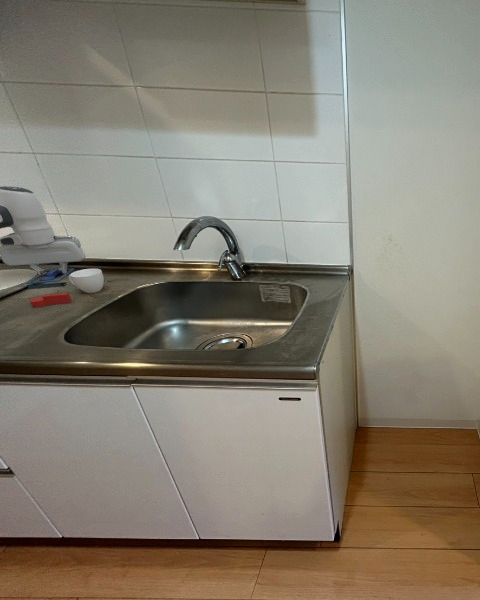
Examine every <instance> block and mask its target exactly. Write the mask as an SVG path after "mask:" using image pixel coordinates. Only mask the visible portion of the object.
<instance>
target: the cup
mask: <svg viewBox="0 0 480 600" xmlns="http://www.w3.org/2000/svg"><path fill="white" fill-rule="evenodd" d="M68 280H69V281H70V284H72V285H73V286H75V287H77V288H78V289H79V290H80V291H82V292H84V293H86V294H93V293H98V292H100V291H102V289H103V287H104V283H105V277H104V273H103V271H102V269H100V268H86V269H84V268H83V269H80V270H75V271H72V272H71V273H70V274H69V275H68Z"/></svg>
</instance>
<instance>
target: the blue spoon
mask: <svg viewBox="0 0 480 600" xmlns="http://www.w3.org/2000/svg"><path fill="white" fill-rule="evenodd" d="M59 269H60V268H57V267H56V268H52V269H50V270H51V271H50V272H47V275H46V276H44V277H41V278H40V281H48V280H57V279H56V277H57V276H58V275H59V274H60V272H59V271H58V270H59Z"/></svg>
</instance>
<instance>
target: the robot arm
mask: <svg viewBox="0 0 480 600" xmlns="http://www.w3.org/2000/svg"><path fill="white" fill-rule="evenodd" d="M6 228H11V229H12V231H13V232H12V233H11V232H10V233H8V234H5V235H3V236H1V237H0V258H1V261H2V263H4V264H5V265H7V266H24V265H25V266H27V265H29V268H31V269H32V270H34V271H36V272H37V275H38V274H39V275H40V277H42V276H47V273H48V272H46V270H47V269H45V268H43V269H42V267H40V266H39V265H41V264H42V265H43V264H59V266H61V267H60V268H59V270H58V271H59V272H60V273H59V274H60V275H64V274H66V273H67V272H68V271H67V270H66V269H67V267H68V264H69V263H75V262H76V263H77V262H82V261H84V260H85V259H86V256H87V254H86V253H85V251H84V249H83V248H82V246H81V245H82V244H81V242H80V239H78V238H77V237H76V236H72V235H56V233H55V231H54V229H53V227H52V224H50V222H49V221H48V219H47V212H46V210H45V208H44V206H43V204H42V203H41V201H40V198H39V197H38V195H36V193H35V192H33V191H32V190H30V189H29V188H28V189H27V188H25V187H19V186H6V185H5V186H0V230H2V229H6Z"/></svg>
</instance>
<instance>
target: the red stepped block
mask: <svg viewBox="0 0 480 600" xmlns="http://www.w3.org/2000/svg"><path fill="white" fill-rule="evenodd" d="M72 301H73V300H72V298H71V296H70V294H69V292H62V293H51V294H44V295H42V296H38V297H34V298H31V299H29V302H30V305H31V306H32V308H41V307H45V306H52V305H63V304H70V303H72Z"/></svg>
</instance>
